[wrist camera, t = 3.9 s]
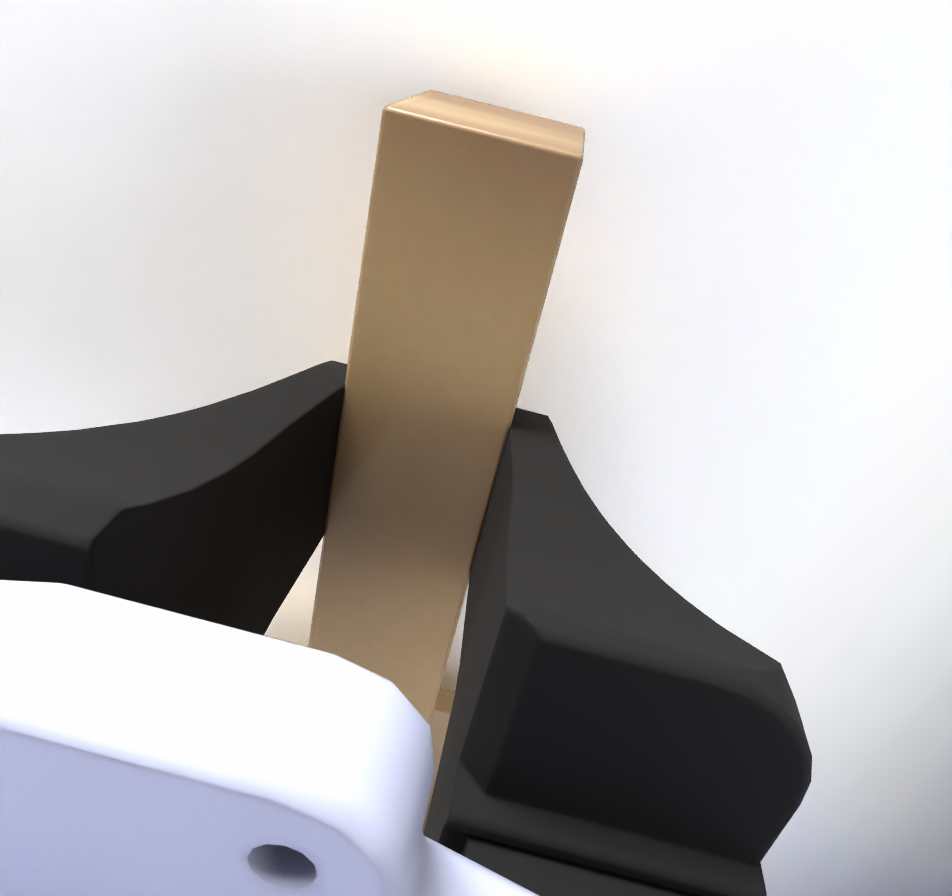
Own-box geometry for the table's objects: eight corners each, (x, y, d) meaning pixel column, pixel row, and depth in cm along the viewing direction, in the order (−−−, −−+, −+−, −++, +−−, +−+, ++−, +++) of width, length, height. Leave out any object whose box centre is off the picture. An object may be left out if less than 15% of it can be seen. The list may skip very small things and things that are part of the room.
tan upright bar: (446, 899, 21) (427, 1013, 19) (239, 844, 21) (192, 950, 19) (705, 157, 11) (737, 193, 9) (310, 59, 11) (231, 66, 9)
